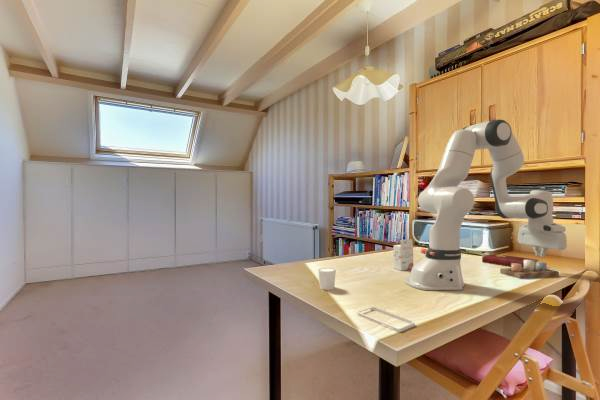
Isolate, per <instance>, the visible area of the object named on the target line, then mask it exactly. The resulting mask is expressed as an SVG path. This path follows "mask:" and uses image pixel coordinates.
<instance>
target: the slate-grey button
mask: <svg viewBox="0 0 600 400" xmlns="http://www.w3.org/2000/svg"><path fill="white" fill-rule="evenodd" d="M547 266H548V265H547V262H544V261H537V262H536V270H541V271H547V269H548V267H547Z"/></svg>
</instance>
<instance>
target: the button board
mask: <svg viewBox="0 0 600 400" xmlns="http://www.w3.org/2000/svg"><path fill="white" fill-rule="evenodd" d="M499 271H500V274H503V275H505V276H510V277H513V278H516V279H521V280H522V279H535V278H549V277H550V278H551V277H553V278H554V277H560V271H559V270H558V271H557V270H553V269H549V268H547V271H541V270H536V267H534V271H525V270H524V267H522V272H514V271H511V267H508V268H507V267H506V268H500V269H499Z"/></svg>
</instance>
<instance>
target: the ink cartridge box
mask: <svg viewBox="0 0 600 400" xmlns="http://www.w3.org/2000/svg"><path fill="white" fill-rule="evenodd" d="M399 242H400V244H393V269H394V270H397V269H398V270H397V271H401V270H402V271H406V270H412V267H413V266H414V244H413V239H412V238H408V239H407V238H406V239H400V241H399Z"/></svg>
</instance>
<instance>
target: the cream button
mask: <svg viewBox="0 0 600 400" xmlns="http://www.w3.org/2000/svg"><path fill="white" fill-rule="evenodd" d="M524 270H525V271H534V261H533V260H524Z"/></svg>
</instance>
